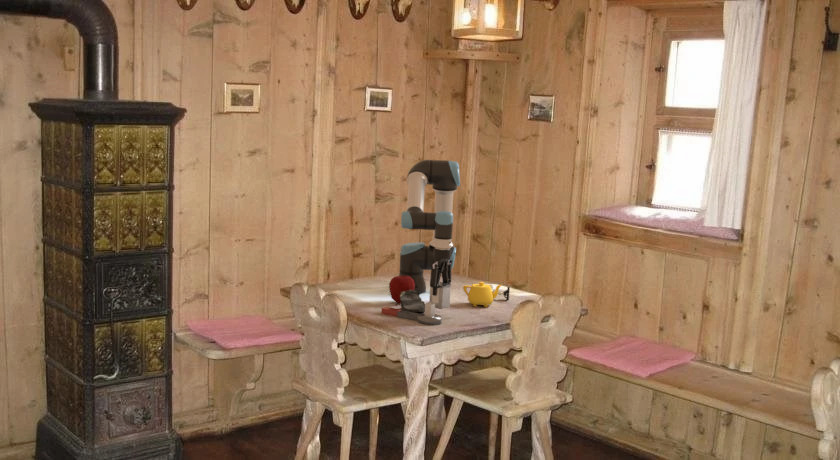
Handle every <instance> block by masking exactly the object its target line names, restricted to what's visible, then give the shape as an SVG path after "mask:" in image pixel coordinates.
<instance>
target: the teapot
mask: <svg viewBox="0 0 840 460" xmlns="http://www.w3.org/2000/svg"><path fill="white" fill-rule="evenodd" d="M490 285H491V284H488V283H487V284H486V283H485V282H484V281H479V282H478V283H472V285H467V284H465V285H463V286H462V290H463V291H464V293H465V294H466V295H467V300H468V302H469V304H471V305H472V307H474V306H478V305H479V306H483V308H489V306H491V305H492V303H494V300H495V299H496V298H497V296H499V294H498V292H499V291H500V288H501V287H502V286H503V284H498V285H497V286H496V287H495V289H494V290H495V292H494V293H493V292H492V290H493V289H491V286H490ZM468 288H469V290H468Z"/></svg>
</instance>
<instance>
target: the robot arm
mask: <svg viewBox="0 0 840 460" xmlns="http://www.w3.org/2000/svg"><path fill="white" fill-rule="evenodd" d="M460 177H461V176H460V164H459V162H458V161H453V160H445V159H444V160H443V159H442V160H439V159H438V160H437V159H423V160H420V161H418V162H417V163H415V164H414V165H412V167H411V168H410V169H409V171H408V173H407V176H406V184H407V186H408V189H407V200H406V201H407V202H406V210H404V211H402V212H401V218H400V219H401V221H400V226H401V228H402V229H408V230H427V231H428V230H429V231H432V239H431V241H429V244H428V245H426V244H425V242H421V241H420V242H419V241H418V242H417V241H415V242H408V243H404V244H402V245H401V247H400V251H399V252H400V253H399V271H398V272H399V275H398V276H410V277H411V278H412V279H413V280H414V282H415V288H414V291H416V292H417V293H418V294H423V293H425V292H427V284H426V280H425V277H424V271H430V281H429V288H430V287H433V296H432V302H434V303H439V288H438V286H439V282H441V279H442V282H443V283H449V284H451V282H452V269H454V265H455V259H456V253H457V247H455V246H454V243H453V242H452V241H453V228H454V227H453V226H454V212H453V205H454V204H453V203H454V193H455V192H456V191H457V190H458V187H460V186H461V179H460ZM427 185H429V186H430V185H431V186H432V190H433V191H434V192H435V193H434V195H435V197H434V211H433V212H428V211H427V212H425V211H424V210H425V208H424V207H425V192H426V191H425V190H426V189H425V188H426V186H427ZM451 285H452V284H451Z"/></svg>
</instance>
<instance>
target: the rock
mask: <svg viewBox="0 0 840 460" xmlns="http://www.w3.org/2000/svg"><path fill="white" fill-rule="evenodd" d="M419 294H420V293H417V292H416V291H413V290H408V291H406V292H401V293H400V301H401V304H400V307H401V310H403V311H408V312H413V313H421V314H424V313H425V303H426V302H425V301H423V300H422V298H421V297H420V295H419Z"/></svg>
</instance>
